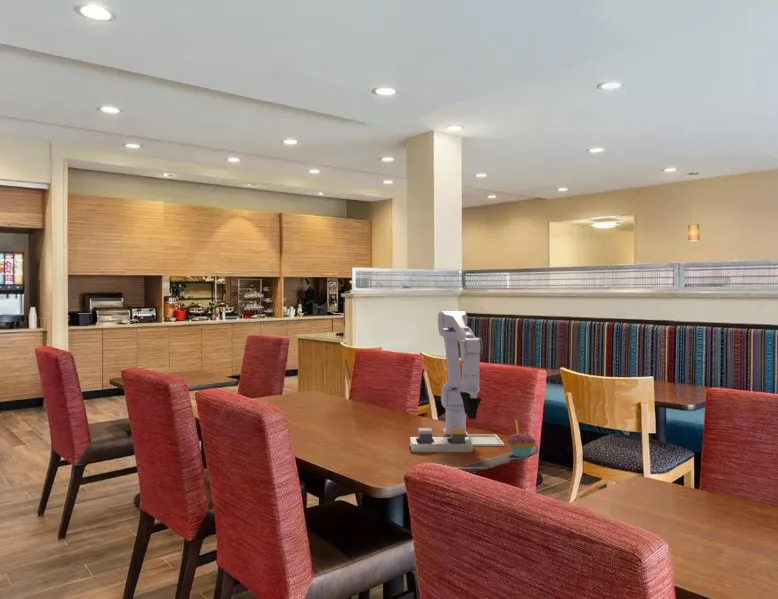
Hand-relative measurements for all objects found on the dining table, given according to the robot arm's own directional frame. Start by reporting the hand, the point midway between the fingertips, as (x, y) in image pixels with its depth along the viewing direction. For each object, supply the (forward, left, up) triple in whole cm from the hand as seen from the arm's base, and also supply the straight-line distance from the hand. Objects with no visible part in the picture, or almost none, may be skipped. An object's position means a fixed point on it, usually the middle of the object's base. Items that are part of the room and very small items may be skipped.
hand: (470, 416), depth 200 cm
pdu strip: (+5, -10, -10) cm, 15 cm away
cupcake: (+12, +14, -10) cm, 21 cm away
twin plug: (+5, -15, -9) cm, 19 cm away
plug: (+5, -5, -9) cm, 12 cm away
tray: (-5, +6, -10) cm, 12 cm away
